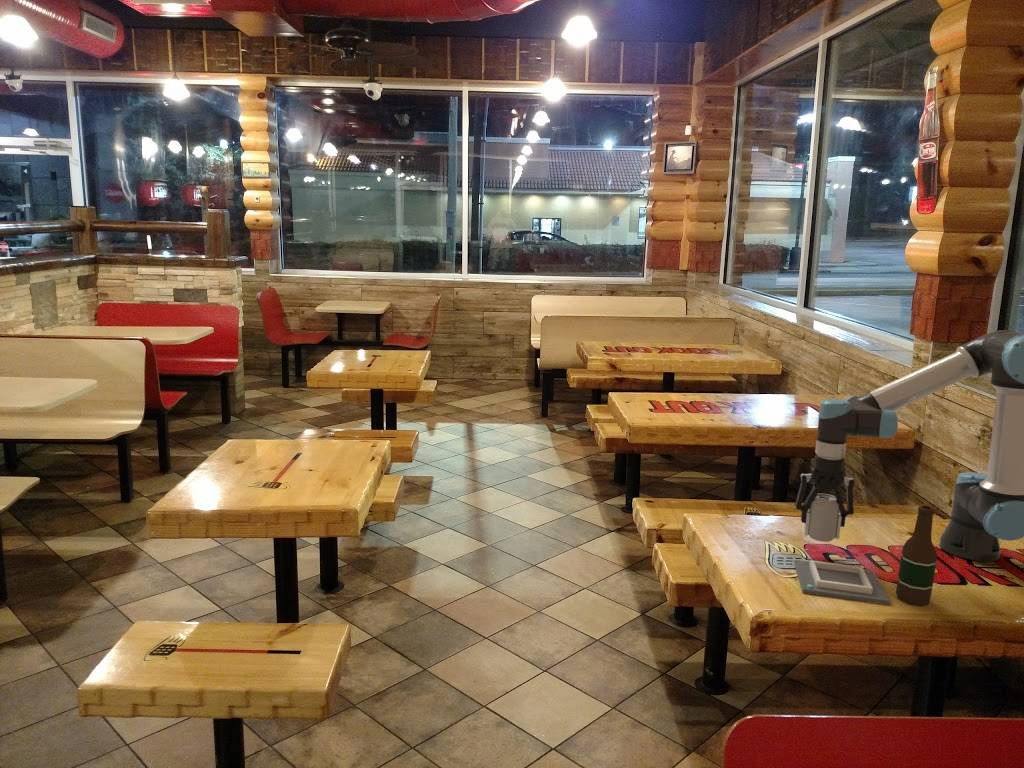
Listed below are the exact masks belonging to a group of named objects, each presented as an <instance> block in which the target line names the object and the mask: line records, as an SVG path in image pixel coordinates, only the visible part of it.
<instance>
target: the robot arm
mask: <svg viewBox="0 0 1024 768" xmlns="http://www.w3.org/2000/svg"><path fill="white" fill-rule="evenodd" d="M986 374H987V375H988V374H991V378H990V385H991V387H993V389H995V391H996V392H995V393H996V395H995V401H994V411H993V422H992V430H991V437H990V438H991V439H990V446H989V455H988V456H989V458H988V465H987V466H988V467H987V473H985V472H984V473H982V472H972V471H966V472H961V473H959V474H958V476H957V478H956V482H955V488H954V495H953V502H952V507H951V508H952V509H951V515H950V520H949V521H948V523H947V525H946V527H945V529H944V530H943V532H942V534H941V535H940V539H939V547H940V548H941V549H942V550H943V551H945V552H946V553H948V554H951V555H953V556H956V557H957V558H958V557H959V558H962V559H965V560H966V559H967V560H971V561H976V562H977V561H978V562H995V561H998V560H999V559H1000V557H1001V545H1000V540H1002V541H1007V542H1008V541H1009V542H1010V541H1017V540H1020V539H1023V538H1024V333H1022V332H1017V331H1015V330H1011V329H1010V330H1009V329H1008V330H1007V329H1001V330H995V331H991V332H988V333H985V334H984V335H981V336H979V337H977V338H974V339H972V340H970V341H968V342H966V343H963V344H961V345H960V346H957V347H956V350H955V352H953V353H951V354H949V355H947V356H945V357H942V358H940V359H938V360H936V361H933V362H932V363H930V364H928V365H925V366H924V367H921V368H919V369H917V370H915V371H912V372H910V373H908V374H906V375H903V376H901V377H900V378H898V379H896V380H894V381H891V382H889V383H887V384H884V385H883V386H880V387H878V388H876V389H874V390H872V391H870V392H867V393H865V394H863V395H861V396H856V395H855V396H852V395H851V396H849V397H848V396H847V397H846V398H845V399H839V398H825V399H823V400H822V401H821V402H820V405H819V406H820V407H819V412H818V414H817V415H818V420H817V421H818V423H817V435H816V443H815V450H814V451H815V455H814V461H813V469H812V471H811V472H810V473H804V472H802V473H801V474H800V485H799V489H798V492H797V497H796V498H795V499H796V500H795V504H794V505H795V508H796V510H798V511H801V514H800V515H801V517H800V521H801V523H802V524H804V526H803V534H804V536H806V537H808V536H809V535H808V528H809V518H810V512H809V508H810V506H811V504H812V502H813V501H814V499H815V497H816V495H817V494H818V493H820V491H821V490H829V491H833V493H834V496H835V497H836V499H837V502H838V504H839V513H838V522H837V531H836V538H835V539H836V540H840V535H841V533H840V532H841V527H843V528H844V527H845V524H846V518H847V516H848V515H850V516H851V515H852V516H853V515H854V513H855V512H854V493H853V491H854V490H853V488H854V485H855V483H856V481H855V480H854V478H853V477H850V476H849V477H847V476H845V475H844V468H845V467H844V466H845V456H846V451H847V449H846V448H847V441H848V440H847V439H848V437H858V438H859V437H860V438H874V439H875V438H877V439H891V438H893V437H895V436H896V434H897V431H898V426H899V420H898V416H897V413H896V412H895V411H896V410H899V409H901V408H904V407H905V406H906V407H907V406H909V405H910V404H912V403H914V402H916V401H918V400H921V399H923V398H926V397H928V396H930V395H933V394H935V393H936V392H939V391H941V390H943V389H945V388H948V387H949V386H952V385H954V384H957V383H959V382H961V381H963V380H965V379H968V378H974V379H976V378H979V377H981V376H983V375H986ZM811 479H812V481H813V482H814V484H813V485H812V488H811V489H810V492H809V494H808V496H807V497H806V499H805V501H804V497H805V493H806V490H807V486H808V483H809V482H810V480H811ZM843 482H844V485H845V489H846V491H845V492H846V508H845V506H844V505H845V504H844V503H843V500H842V496H841V493H840V490H839V487H838V486H840V485H841V484H842V483H843ZM803 502H804V503H803Z"/></svg>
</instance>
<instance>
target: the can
mask: <svg viewBox="0 0 1024 768" xmlns="http://www.w3.org/2000/svg"><path fill="white" fill-rule="evenodd" d="M808 510H809V512H810V518H809V528H808V536H809V538H811V539H812V540H814V541H817V542H822V543H823V542H825V543H829V542H832V541H833V540H835V539H836V531H837V522H838V513H840V510H839V504H838V502H837V499H836V497H835V495H833V494H828V493H822V492H821V493H820V492H818V494H817V495H816V497H815V499H814V501H813V502H812V504H811V506H810V508H809V509H808Z"/></svg>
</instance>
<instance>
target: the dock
mask: <svg viewBox="0 0 1024 768" xmlns="http://www.w3.org/2000/svg"><path fill="white" fill-rule="evenodd" d="M794 564H795V566H794V568H796V569H795V573H796V575H797V576H796V577H797V579H798V582H799V586H800V589H801V593H802V594H810V595H817V596H823V597H824V596H825V597H830V596H831V597H830V598H837V597H838V599H839V598H840V599H846V600H852V601H861V602H866V601H870V602H869V603H874V602H877V603H876V604H881V603H883V605H888V604H889V605H890V602H891V600H890V598H889V597H888V595H887V593H886V590H885V589H884V587H883V585H882V584H881V581H880V579H879V577H878V576H877V574H876V572H875V570H874V569H866V568H863V566H858V565H857V566H856V565H850V564H842V563H835V562H827V561H826V562H825V561H818V560H812V559H811V560H809V561H805V560H799V559H798V560H797V559H794V560H793V565H794Z"/></svg>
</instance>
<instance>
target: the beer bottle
mask: <svg viewBox="0 0 1024 768" xmlns="http://www.w3.org/2000/svg"><path fill="white" fill-rule="evenodd" d="M917 511H918V512H917V517H916V522H915V526H914V529H913V531H912V532H913V533H912V535H911V536H910V537H909V538H908V539H907V540H906V541H905V543H904V545H903V546H902V550H901V555H900V562H899V568H898V574H897V583H896V589H895V590H896V591H895V593H896V594H895V595H896V596H897V599H898V600H899V601H901V602H903V603H905V604H907V605H911V606H917V607H923V606H927V605H929V604H930V602H931V598H932V591H933V585H934V580H935V573H936V567H937V556H938V554H937V550H936V548H935V545H934V544H933V541H932V531H933V521H934V519H933V518H934V515H935V512H936V511H935V509H934V507H932V506H929V505H919V506H918V507H917Z"/></svg>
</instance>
